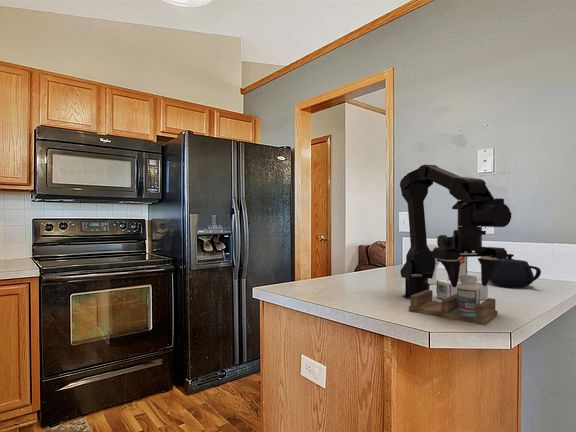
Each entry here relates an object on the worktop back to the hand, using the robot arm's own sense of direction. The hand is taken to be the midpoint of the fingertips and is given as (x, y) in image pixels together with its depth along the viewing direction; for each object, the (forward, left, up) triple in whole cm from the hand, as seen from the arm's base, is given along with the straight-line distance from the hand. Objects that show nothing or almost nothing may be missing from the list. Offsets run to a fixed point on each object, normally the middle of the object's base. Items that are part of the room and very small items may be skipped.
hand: (469, 286), depth 93 cm
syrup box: (-3, +27, -5) cm, 28 cm away
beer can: (-13, +35, -8) cm, 38 cm away
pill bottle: (0, 0, -6) cm, 7 cm away
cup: (-27, +43, -8) cm, 52 cm away
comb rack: (-4, 0, -8) cm, 9 cm away
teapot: (-2, +60, -8) cm, 61 cm away
